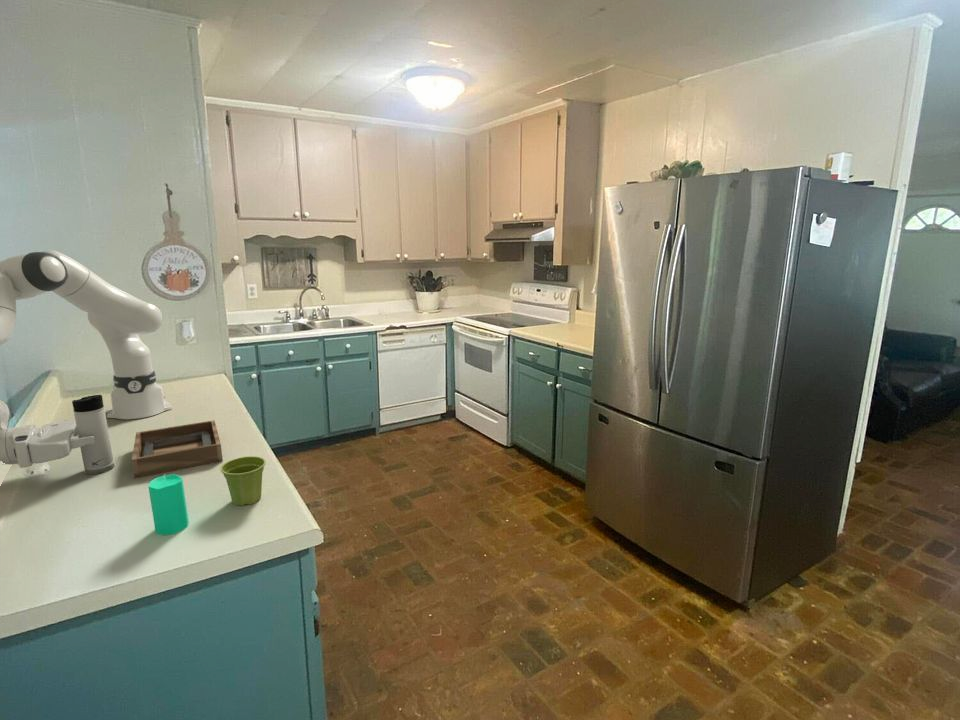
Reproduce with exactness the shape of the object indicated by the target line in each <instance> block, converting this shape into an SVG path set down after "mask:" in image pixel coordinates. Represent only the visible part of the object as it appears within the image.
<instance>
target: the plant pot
mask: <svg viewBox="0 0 960 720" xmlns="http://www.w3.org/2000/svg"><path fill="white" fill-rule="evenodd" d="M266 464H267V463H266V459H265V458H263V457H262V456H255V455H251V456H250V455H249V456H242V457H237V458H234V459H231V460H228V461H226V462H225V463H223V464H222V465H221V466H220V473H222V474H223V477H224V478H225V480H226V483H227V488H228V491H229V494H230V499H231V501H232V503H233V504H234V505H236V506H245V505H247V504H248V505H249V504H250V505H251V504H254V503H256V502H258V501H259V500H261V498H262V489H263V488H262V487H263V486H262V483H263V472H264V469H265V466H266Z"/></svg>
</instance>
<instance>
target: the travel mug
mask: <svg viewBox="0 0 960 720" xmlns="http://www.w3.org/2000/svg"><path fill="white" fill-rule="evenodd" d="M71 402H72V408H73V416H74V420H75V421H76V427H77V432H78V437H77V438H83V437H85V436H90V435H94V436H95V442H94V443H93V444H87V445H84V446H81V447H79V448H80V452H81V459H82V463H83V469H84V473H85V474H88V475H97V474H101V473H106V472H109V471H110V470H112V469H113V468H114V467H115V462H114V456H113V450H112V443H111V440H110V438H111V437H110V433H109V426H108V421H107V414H106V410H105V405H104V400H103V395H102V394H92V395H88V396H83V397H81V398H80V399H79V398H78V399H74V400H72V401H71Z"/></svg>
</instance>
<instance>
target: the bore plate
mask: <svg viewBox="0 0 960 720" xmlns="http://www.w3.org/2000/svg"><path fill="white" fill-rule="evenodd" d="M196 441H202V442H203V446H206V445H212V444H211V440H210V435H209V431H204V432H198V433H192V434H185V435H179V436H173V437H167V438H161V439H155V440H149V441H145V447H144V456H149V455H154V449H155V448H161V447H167V446H173V445H179V444H185V443H190V442H196ZM144 456H143V457H144Z"/></svg>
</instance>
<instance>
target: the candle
mask: <svg viewBox="0 0 960 720" xmlns="http://www.w3.org/2000/svg"><path fill="white" fill-rule="evenodd" d="M147 488H148V493H149V499H150V504H151V512H152V517H153V518H152V519H153V523H154V531H155V533H156V534H157V535H159V536H169V535H175V534H177V533H180V532H182V531H184V530H185V529H186V528H188V527H189V524H190V523H189V516H188V510H187V509H188V507H187V501H186V496H185V495H186V494H185V488H184V481H183V478H182V477H181V475H178V474H175V473H172V474H166V473H163V475H162V476H158V477H156V478H154V479H152V480H151V481H150V482H149V484H148V487H147Z"/></svg>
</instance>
